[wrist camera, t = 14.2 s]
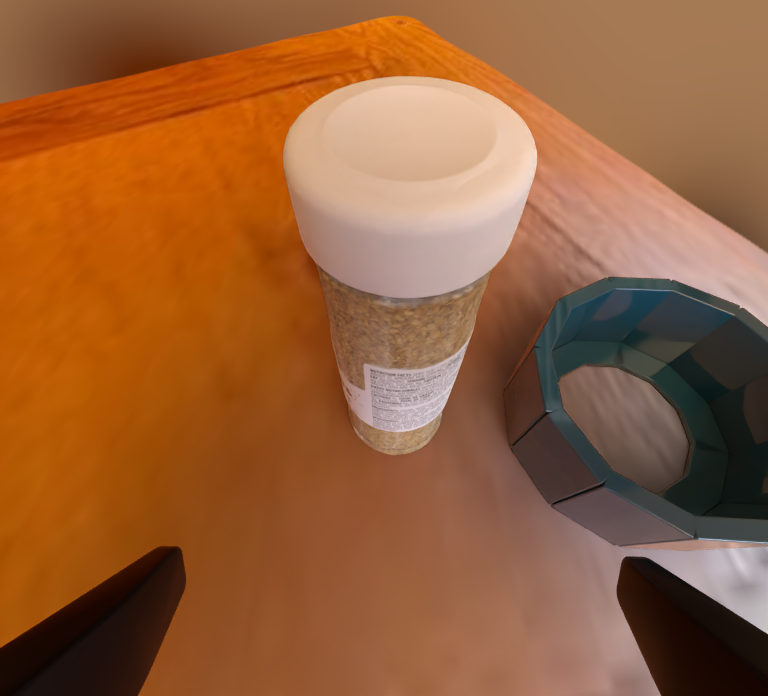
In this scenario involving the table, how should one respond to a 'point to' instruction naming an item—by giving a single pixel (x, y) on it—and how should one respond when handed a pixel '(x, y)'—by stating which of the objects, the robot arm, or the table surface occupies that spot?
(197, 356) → the table surface
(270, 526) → the table surface
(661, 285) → the bowl
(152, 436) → the table surface
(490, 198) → the spice jar
